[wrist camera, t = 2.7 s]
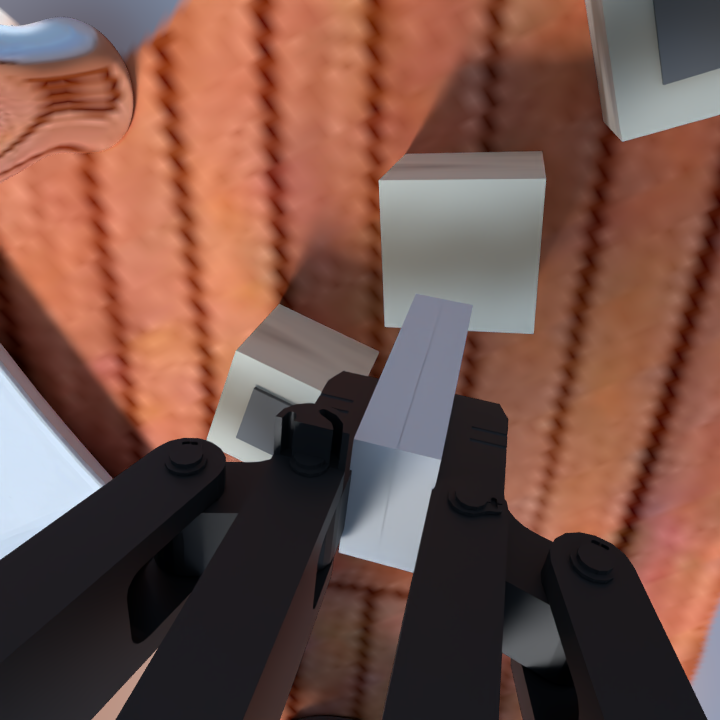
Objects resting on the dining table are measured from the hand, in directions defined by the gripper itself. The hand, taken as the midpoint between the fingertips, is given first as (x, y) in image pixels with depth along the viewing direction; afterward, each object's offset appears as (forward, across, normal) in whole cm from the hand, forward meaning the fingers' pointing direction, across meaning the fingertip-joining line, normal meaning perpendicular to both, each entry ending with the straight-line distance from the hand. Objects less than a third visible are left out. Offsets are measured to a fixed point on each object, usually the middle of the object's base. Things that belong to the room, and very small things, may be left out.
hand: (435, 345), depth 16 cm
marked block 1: (+14, +7, +10) cm, 19 cm away
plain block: (+14, 0, 0) cm, 14 cm away
